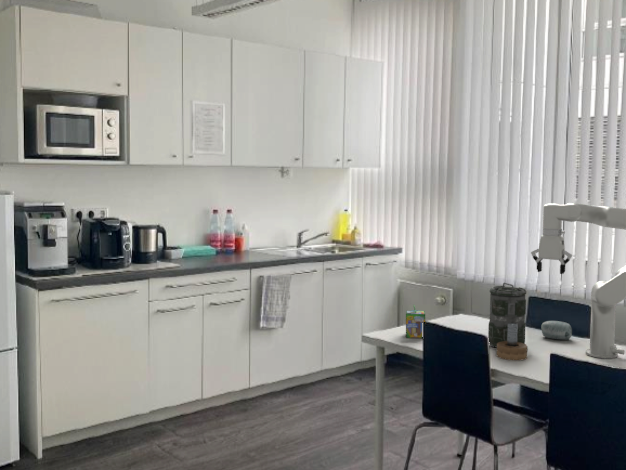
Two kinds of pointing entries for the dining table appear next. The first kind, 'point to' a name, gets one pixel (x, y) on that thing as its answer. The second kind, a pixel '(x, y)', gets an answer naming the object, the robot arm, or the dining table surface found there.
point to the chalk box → (414, 323)
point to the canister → (506, 313)
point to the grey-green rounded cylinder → (556, 330)
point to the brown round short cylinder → (511, 351)
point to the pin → (512, 334)
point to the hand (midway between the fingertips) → (550, 272)
